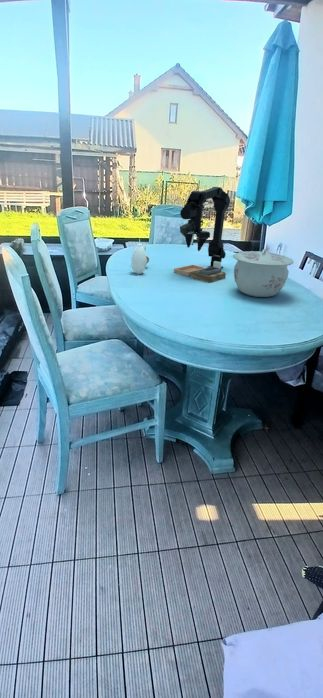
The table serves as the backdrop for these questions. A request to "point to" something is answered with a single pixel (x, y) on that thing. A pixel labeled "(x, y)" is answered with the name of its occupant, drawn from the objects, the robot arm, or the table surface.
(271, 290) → the chamber pot
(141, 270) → the sauce bottle
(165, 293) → the table surface
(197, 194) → the robot arm
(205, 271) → the caddy
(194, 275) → the dock
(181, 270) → the tray
